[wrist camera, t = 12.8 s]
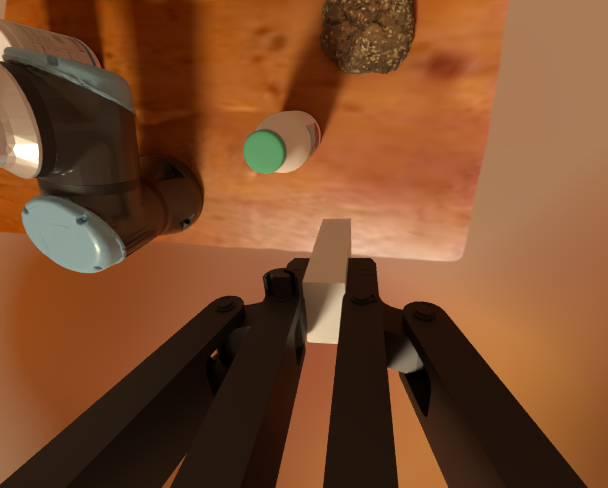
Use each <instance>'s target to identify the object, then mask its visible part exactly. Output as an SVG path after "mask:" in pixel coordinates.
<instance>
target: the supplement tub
mask: <svg viewBox="0 0 608 488" xmlns="http://www.w3.org/2000/svg"><path fill="white" fill-rule="evenodd" d="M6 47H17V48H23V49H28V50H33V51H37V52H41V53H44V54H49V55H53V56H54V57H62V58H66V59H70V60H74V61H78V62H82V63H85V64H89V65H92V66H96V67H99V68H101V65H100V63H99V61H98V59H97V57H96V55H95V54H94V52H93V51H92V50H91V49H90V48H89V47H88V46H87V45H86V44H85V43H84V42H82V41H81V40H79V39H77V38H74V37H71V36H66V35H62V34H58V33H54V32H51V31H47V30H43V29H39V28H35V27H30V26H26V25H22V24H19V23H15V22H10V21H6V20H2V19H0V61H3V57H2V55H3V54H4V49H5V48H6ZM4 62H5V61H4Z"/></svg>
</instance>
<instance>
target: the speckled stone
mask: <svg viewBox="0 0 608 488" xmlns="http://www.w3.org/2000/svg"><path fill="white" fill-rule="evenodd" d="M323 8H324V9H323V31H322V35H321V47H322V49H323V51H324V53H325V54H326V55H327V56H328V57H329V58H331V59H332V60H334V61H338V63H339V65H338V66H339V69H341V70H342V71H343V72H346V73H352V74H358V75H361V74H365V73H369V72H377V73H382V74H387V72H389V71H393V70H394V71H395V70H396V69H397V68H398V67H399V65H401V64H402V63H403V61H404V59H405V58H406V57H407V52H408V50H409V48H410V46H411V45H412V41H411V39H412V35H413V34H412V33H413V31H414V29H413V28H414V22H413V20H414V18H413V14H414V12H413V3H412V0H325V3H324V5H323Z"/></svg>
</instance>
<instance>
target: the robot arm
mask: <svg viewBox="0 0 608 488" xmlns="http://www.w3.org/2000/svg"><path fill="white" fill-rule="evenodd" d="M2 57H3V61H0V167H1V168H4V169H6V170H8V171H9V172H11V173H13V174H15V175H17V176H19V177H21V178H25V179H29V178H37V181H38V185H39V189H40V192H41V195H37V196H34V197H33V198H32V199H31V200H30V201H28V202H27V203H26V205H25V208H24V209H23V210H22V221H23V225H24V228H25V230H26V232H27V234H28V236H29V237H30V239H31V240H32V242H33V243H34V244H35V245H36V246H37V247H38V249H39V250H40V251H42V252H43V253H44V254H45V255H46V256H48V257H49V258H50V259H52V260H53V261H54V262H56V263H57V264H59V265H61V266H63V267H65V268H68V269H70V270H73V271H77V272H82V273H95V272H99V271H102V270H104V269H106V268H108V267H110V266H112V265H114V264H117V263H119V262H121V261H122V260H123V259H125V258H126V257H127V256H129V255H130V254H132V253H133V252H135V251H136V250H138V249H139V248H141V247H142V246H144V245H145V244H147V243H148V242H150V241H151V240H153V239H154V238H156V237H157V236H160V235H167V234H174V233H179V232H181V231H183V230H185V229H187V228H188V227H190V226H191V225H192V224H194V223H195V222H196V221H197V219H198V218H199V216H200V213H201V210H202V205H203V198H202V192H201V189H200V186H199V183H198V181H197V179H196V178H195V176H194V175H193V173H192V172H191V171H190V170H189V169H188V168H187V167H186V166H185V165H184V164H183V163H181V162H180V161H179V160H177V159H175V158H173V157H171V156H168V155H164V154H151V155H147V156H143V157H140V158H139V154H138V145H137V136H136V127H135V118H134V117H135V116H136V112H135V110H134V108H133V102H132V95H131V90H130V87H129V84H128V83H127V82H126V80H125V79H124V78H123V77H121V76H120V75H118V74H116V73H114V72H111V71H109V70H105V69H102V68H99V67H96V66H92V65H89V64H85V63H82V62H78V61H74V60H70V59H66V58H62V57H54V56H53V55H49V54H44V53H41V52H37V51H33V50H28V49H23V48H17V47H6V48H5V49H4V54H3V55H2ZM4 61H5V62H4ZM263 281H264V288H265V294H266V296H265V298H264V300H263V302H260V303H256V304H251V305H244V302H243V300H242V299H241V298H240V297H237V296H224V297H221V298H218V299H216V300H215V301H213V302H211V303H210V304H209V305H208V306H207V307H205V308H204V309H203V310H202V311H201V312H200V313H198V314H197V316H195V317H194V318H193V319H191V320H190V321H189V322H188V323H187V324H186V325H185V326H183V328H181V329H180V330H179V331H178V332H176V333H175V334H174V335H173V336H172V337H171V338H170V339H168V340H167V341H166V342H165V343H164V344H163V345H161V346H160V347H159V348H158V349H157V350H156V351H155V352H153V353H152V354H151V355H150V356H149V357H147V358H146V359H145V360H144V361H143V362H142V363H141V364H139V366H137V367H136V368H135V369H134V370H132V371H131V372H130V373H129V374H128V375H127V376H125V377H124V378H123V379H122V380H121V381H120V382H119V383H117V384H116V385H115V386H114V387H113V388H112V389H110V390H109V391H108V392H107V393H106V394H105V395H104V396H102V397H101V398H100V399H99V400H98V401H96V402H95V403H94V404H93V405H92V406H91V407H90V408H88V409H87V410H86V411H85V412H84V413H83V414H81V415H80V416H79V417H78V418H77V419H76V420H74V422H72V423H71V424H70V425H69V426H68V427H66V428H65V429H64V430H63V431H62V432H61V433H60V434H58V435H57V436H56V437H55V438H54V439H52V440H51V441H50V442H49V443H48V444H47V445H46V446H45V447H43V448H42V449H41V450H40V451H39V452H37V453H36V454H35V455H34V456H33V457H32V458H30V459H29V460H28V461H27V462H26V463H25V464H24V465H22V466H21V467H20V468H19V469H18V470H17V471H16V472H14V473H13V474H12V475H11V476H10V477H9V478H7V479H6V480H5V481H4V482H3V483H2V484H0V488H162V486H163V485H164V483H165V482H166V481H167V479H168V478H169V477H170V475H171V474H172V473H173V471H174V470H175V469H176V467H177V466H178V465H179V463H180V462H181V461H182V459H183V458H184V456H185V455H186V454H187V455H186V457H185V459H184V461H183V463H182V465H181V467H180V469H179V471H178V473H177V475H176V477H175V479H174V481H173V483H172V485H171V487H170V488H275V487H276V483H277V478H278V474H279V469H280V465H281V460H282V456H283V451H284V447H285V442H286V438H287V433H288V429H289V424H290V420H291V415H292V410H293V406H294V402H295V397H296V393H297V388H298V384H299V379H300V375H301V370H302V366H303V361H304V357H305V350H306V349H305V338H306V334H307V340H308V342H316V343H332V344H338V347H337V357H336V366H335V377H334V386H333V395H332V405H331V415H330V425H329V434H328V444H327V454H326V464H325V473H324V483H323V488H398V478H397V466H396V456H395V446H394V435H393V424H392V415H391V414H392V413H391V403H390V392H389V382H388V371H387V367H388V368H391V369H394V370H397V371H399V376H400V379H401V381H402V383H403V385H404V388H405V390H406V392H407V394H408V397H409V399H410V401H411V403H412V406H413V408H414V410H415V413H416V415H417V417H418V419H419V422H420V424H421V426H422V428H423V430H424V433H425V435H426V438H427V440H428V442H429V444H430V447H431V449H432V451H433V453H434V456H435V458H436V460H437V462H438V465H439V467H440V469H441V472H442V474H443V476H444V478H445V481H446V483H447V485H448V488H588V487H587V486H586V485H585V484H584V482H583V481H582V480H581V479H580V477H579V476H578V475H577V474H576V473H575V471H574V470H573V469H572V468H571V466H570V465H569V464H568V463H567V461H566V460H565V459H564V458H563V456H562V455H561V454H560V453H559V452H558V450H557V449H556V448H555V447H554V445H553V444H552V443H551V442H550V440H549V439H548V438H547V437H546V435H545V434H544V433H543V432H542V431H541V429H540V428H539V427H538V426H537V424H536V423H535V422H534V421H533V420H532V418H531V417H530V416H529V415H528V413H527V412H526V411H525V410H524V409H523V407H522V406H521V405H520V404H519V403H518V401H517V400H516V399H515V397H514V396H513V395H512V394H511V392H510V391H509V390H508V389H507V387H506V386H505V385H504V384H503V382H502V381H501V380H500V379H499V378H498V376H497V375H496V374H495V373H494V371H493V370H492V369H491V368H490V366H489V365H488V364H487V363H486V362H485V360H484V359H483V358H482V357H481V355H480V354H479V353H478V352H477V350H476V349H475V348H474V347H473V345H472V344H471V343H470V342H469V341H468V339H467V338H466V337H465V336H464V334H463V333H462V332H461V331H460V329H459V328H458V327H457V326H456V324H455V323H454V322H453V321H452V320H451V318H450V317H449V316H448V315H447V313H446V312H445V311H444V310H443V309H441V308H440V307H439V306H437V305H434V304H432V303H428V302H412V303H409V304H407V305H406V306H405V307H404V309H403V310H401V309H397V308H394V307H391V306H389V305H387V304H385V303H384V302H383V301H382V300H381V299H380V297H379V293H378V282H377V271H376V263H375V262H374V261H373V260H372V259H371V258H351V219H323V221H322V224H321V227H320V230H319V233H318V236H317V239H316V242H315V245H314V248H313V251H312V254H311V258H294V259H293V260H292V261H291V262H289V263H288V265H287V267H286V268H278V269H274V270H271V271H269V272H267V273H266V274H265V275H264V276H263ZM215 350H217V353H216V354H215V355H214V356H213V357H212V358H211V355H212V354H213V352H214V351H215ZM187 452H188V453H187Z"/></svg>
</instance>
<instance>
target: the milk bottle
mask: <svg viewBox="0 0 608 488" xmlns="http://www.w3.org/2000/svg"><path fill="white" fill-rule="evenodd" d="M320 139H321V133H320V128H319V125H318V123H317V122H316V120H315V119H314V118H313V117H312V116H311V115H310V114H308V113H306V112H303V111H284V112H278V113H274V114H272V115H269V116H268V117H266V118H265V119H263V120H262V121H261V122H260V124H259V125H258V127H257V128H256V130H255V132H253V133H252V134H250V135H249V136H248V138H247V139H246V141H245V144H244V157H245V160H246V162H247V164H248V165H249V166H250V167H251V168H252V169H253V170H255V171H256V172H259V173H263V174H269V173H273V172H278V173H286V172H290V171H293V170H295V169H297V168H299V167H300V166H301V165H303V164H304V163H305V162H306V161H307V160H308V159H309V158H310V157H311V156H312V155H313V154H314V153H315V151H316V150H317V148H318V146H319V144H320Z"/></svg>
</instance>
